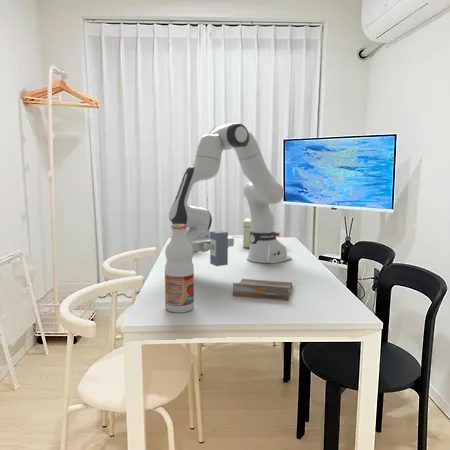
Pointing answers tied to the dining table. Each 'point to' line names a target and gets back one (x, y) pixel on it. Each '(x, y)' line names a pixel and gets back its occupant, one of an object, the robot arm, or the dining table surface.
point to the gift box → (246, 232)
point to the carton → (219, 248)
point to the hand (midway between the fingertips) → (219, 246)
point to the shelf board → (262, 289)
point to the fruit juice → (179, 272)
